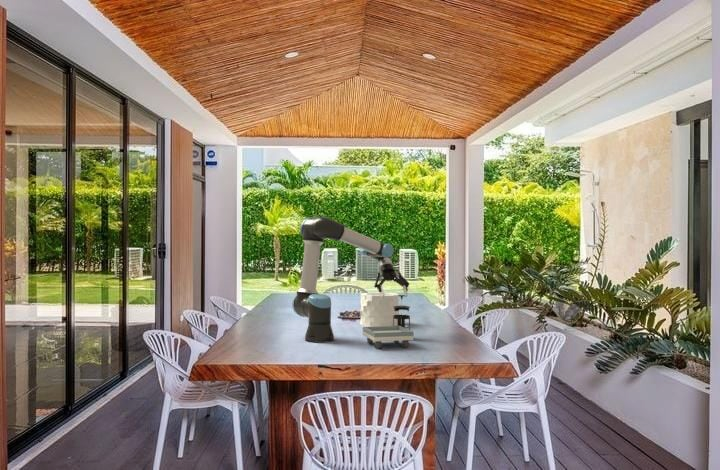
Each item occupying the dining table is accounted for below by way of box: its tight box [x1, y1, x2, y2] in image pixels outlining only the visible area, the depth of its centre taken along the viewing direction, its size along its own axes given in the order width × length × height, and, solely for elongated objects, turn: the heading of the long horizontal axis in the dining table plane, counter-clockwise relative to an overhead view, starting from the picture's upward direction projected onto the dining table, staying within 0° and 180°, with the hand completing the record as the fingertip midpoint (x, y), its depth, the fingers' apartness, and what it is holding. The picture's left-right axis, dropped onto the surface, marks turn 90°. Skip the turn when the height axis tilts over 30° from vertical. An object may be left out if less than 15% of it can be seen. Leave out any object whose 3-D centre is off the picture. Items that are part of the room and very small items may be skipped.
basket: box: [359, 291, 400, 327], centre depth 376 cm, size 25×24×19 cm
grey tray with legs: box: [362, 326, 414, 350], centre depth 306 cm, size 20×20×8 cm
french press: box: [393, 294, 411, 330], centre depth 328 cm, size 12×9×23 cm
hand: (395, 296), depth 339 cm, fingers open, 13 cm apart
